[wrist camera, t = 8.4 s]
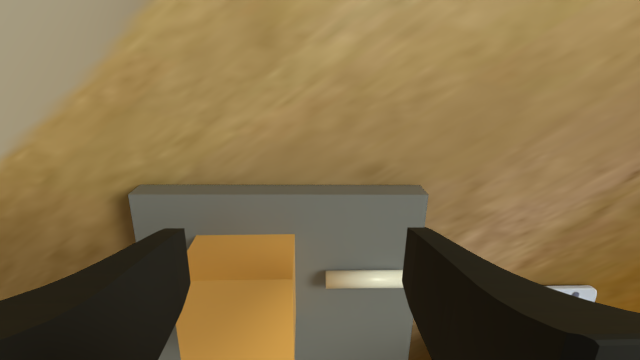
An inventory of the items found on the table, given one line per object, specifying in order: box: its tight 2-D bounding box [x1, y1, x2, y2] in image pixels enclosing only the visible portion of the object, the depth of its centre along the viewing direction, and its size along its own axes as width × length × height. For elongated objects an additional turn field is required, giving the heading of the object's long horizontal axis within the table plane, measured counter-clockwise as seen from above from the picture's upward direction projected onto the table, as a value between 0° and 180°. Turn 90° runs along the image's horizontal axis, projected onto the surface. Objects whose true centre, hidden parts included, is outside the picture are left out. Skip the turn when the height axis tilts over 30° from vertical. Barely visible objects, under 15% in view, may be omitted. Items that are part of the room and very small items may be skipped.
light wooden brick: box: [176, 234, 296, 360], centre depth 19 cm, size 5×5×4 cm
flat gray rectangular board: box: [128, 185, 428, 360], centre depth 21 cm, size 16×12×4 cm
